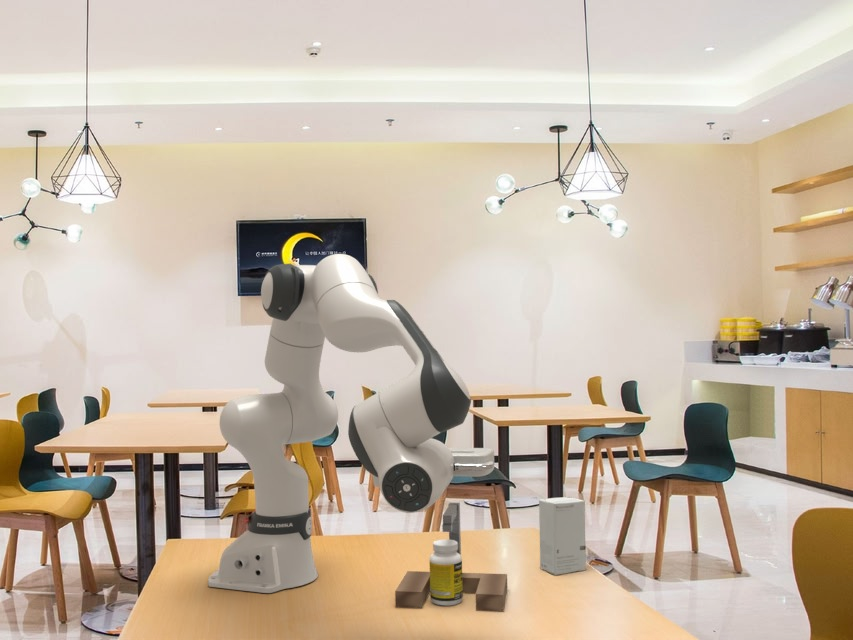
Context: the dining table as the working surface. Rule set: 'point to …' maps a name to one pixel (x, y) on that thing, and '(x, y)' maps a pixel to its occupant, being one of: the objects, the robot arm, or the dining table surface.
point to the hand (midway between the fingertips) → (439, 453)
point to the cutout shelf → (482, 584)
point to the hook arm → (453, 523)
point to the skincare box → (562, 535)
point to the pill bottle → (446, 573)
